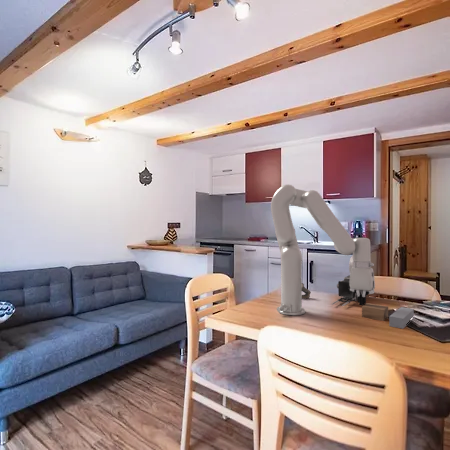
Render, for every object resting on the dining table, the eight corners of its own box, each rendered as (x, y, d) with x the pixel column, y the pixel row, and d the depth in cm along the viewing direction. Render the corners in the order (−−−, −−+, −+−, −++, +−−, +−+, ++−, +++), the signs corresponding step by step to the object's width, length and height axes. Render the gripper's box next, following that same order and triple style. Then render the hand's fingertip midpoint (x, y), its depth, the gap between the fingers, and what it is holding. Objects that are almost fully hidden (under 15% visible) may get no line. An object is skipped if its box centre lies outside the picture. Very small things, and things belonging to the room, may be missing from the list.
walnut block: (383, 321, 136) (383, 309, 136) (361, 317, 142) (361, 306, 142) (388, 317, 141) (388, 306, 141) (367, 313, 147) (367, 303, 147)
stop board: (403, 328, 126) (403, 318, 126) (389, 326, 129) (389, 316, 129) (413, 318, 139) (413, 309, 139) (401, 315, 142) (401, 307, 142)
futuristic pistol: (287, 306, 179) (279, 290, 179) (312, 295, 177) (303, 278, 177) (288, 307, 176) (279, 291, 177) (312, 296, 174) (304, 279, 175)
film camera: (350, 291, 191) (350, 252, 191) (371, 294, 184) (371, 253, 183) (324, 306, 160) (323, 258, 160) (348, 310, 153) (347, 260, 152)
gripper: (381, 265, 143) (382, 306, 143) (348, 262, 153) (348, 300, 153) (376, 267, 137) (376, 309, 137) (342, 264, 147) (342, 304, 147)
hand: (362, 304), depth 145 cm, fingers closed
